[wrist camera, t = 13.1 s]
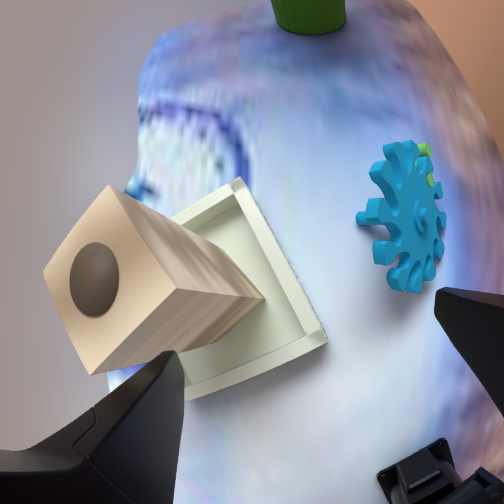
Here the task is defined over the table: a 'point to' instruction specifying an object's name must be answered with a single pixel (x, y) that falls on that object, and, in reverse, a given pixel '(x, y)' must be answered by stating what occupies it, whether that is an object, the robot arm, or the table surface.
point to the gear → (406, 214)
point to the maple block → (142, 285)
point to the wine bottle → (309, 15)
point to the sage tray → (265, 280)
